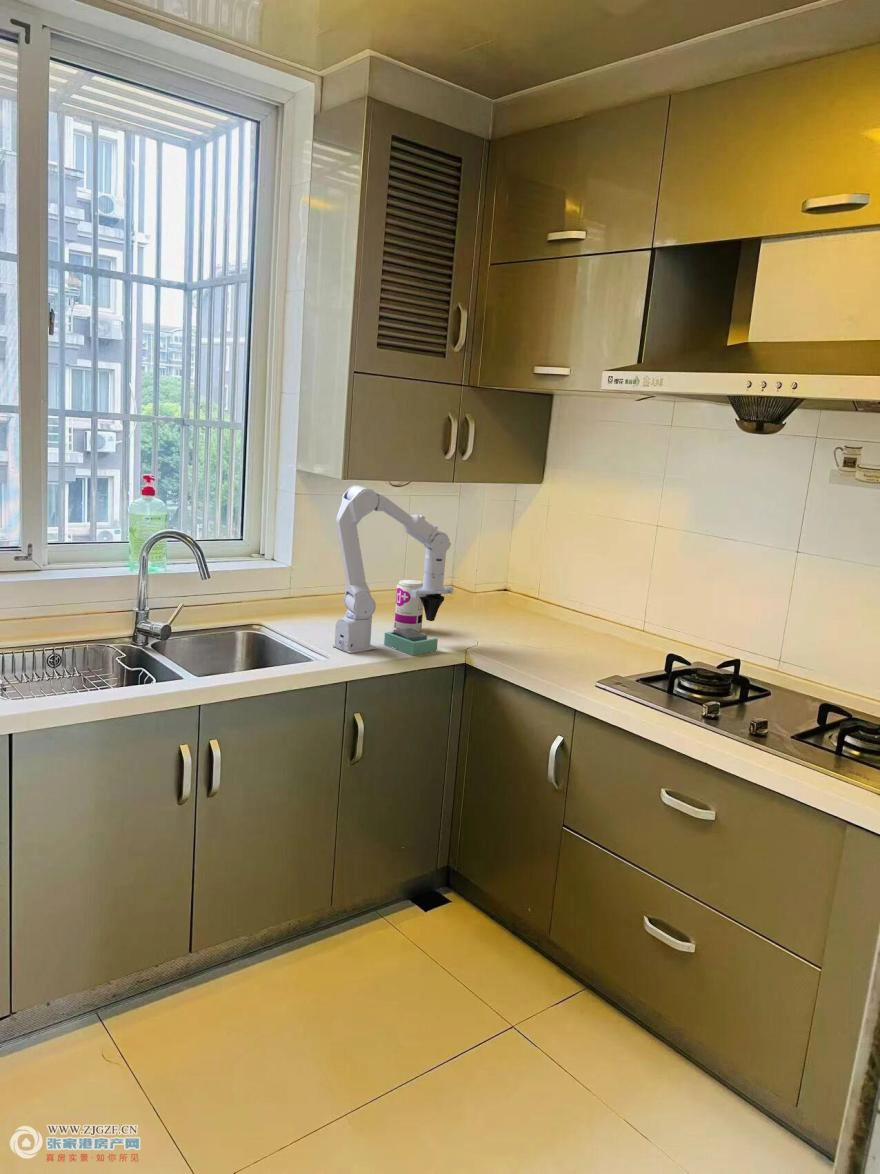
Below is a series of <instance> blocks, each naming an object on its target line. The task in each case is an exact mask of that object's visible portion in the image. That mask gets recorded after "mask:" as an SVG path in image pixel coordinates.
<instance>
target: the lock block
mask: <svg viewBox="0 0 880 1174" xmlns="http://www.w3.org/2000/svg"><path fill="white" fill-rule="evenodd" d="M393 634H394V635H397V636H399V637H402V638H405V639H408V640H410V641H413V642H416V641H421V640H427V639H428V635H427V634H425V633H423V632H421V631H417V630H414V629H412V628H408V629H398V630H396V629H393Z"/></svg>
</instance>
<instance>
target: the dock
mask: <svg viewBox="0 0 880 1174" xmlns="http://www.w3.org/2000/svg"><path fill="white" fill-rule="evenodd" d="M438 640H439V639H438V638H436V637H435V638H427V640H421V641H416V642H413V641H410V640H408V639H405V638H402V637H399V636H397V635H394V634H393V631H387V632H384V641H383V643H384V644H385V645H384V644H383V645H384V646H386V645H388V646H387V647H389V646H390V647H389V648H391V647H393V648H392V649H394V648H395V649H394V650H397V649H398V650H397V651H399V650H401V651H400V652H402V651H403V653H405V652H406V653H405V654H407V653H408V655H410V654H411V655H410V656H412V655H414V656H418V655H417V654H419V655H422V654H421V653H424V654H427V653H426V652H429V653H432V652H431V651H434V652H437V651H438ZM436 650H437V651H436Z"/></svg>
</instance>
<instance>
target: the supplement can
mask: <svg viewBox="0 0 880 1174" xmlns="http://www.w3.org/2000/svg"><path fill="white" fill-rule="evenodd" d="M421 587H423V580H419V579H415V578H414V579H413V578H409V579H408V578H406V579H405V578H404V579H399V582H398V583H397V585H396V598H395V609H394V611H395V612H394V626H393V627H394V630H398V629H408V628H412V629H414V630H417V631H419V632H421V631H422V629H423V615H424V606H423V603H422V601H421V599H420V597H418V598H414V597H411V590H415V589H418V588H421Z"/></svg>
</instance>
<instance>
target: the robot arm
mask: <svg viewBox="0 0 880 1174" xmlns="http://www.w3.org/2000/svg"><path fill="white" fill-rule="evenodd" d="M373 511H375V512H383V513H385V514H386V515H388V516H389V517H391V518H392V519H394V520H396V521H397V522H398V523H400V524H402V525H403V529H404V532H405V533H406V534H408V535H409V536H410V537H412V538H414V539H415V540H416V541H418V542H419V543H420V544H423V546H424V547H425V554H424V566H423V579H422V582H423V587H421V588H418V589H415V590H411V597H414V598H418V597H420V599H421V601H422V603H423V611H424V614H425V620H426V621H429V622H433V621H435V620H436V617H437V613H438V611H439V609H440V606H441V605H442V604H443V602H444V601H445V596H443V595H446V594H450V595H453V594H454V586H450V585H444V580H445V570H446V569H445V568H446V556H447V551H449V549H450V548H451V543H452V542H451V541H450V538H449V536H448V535H447V533H446V532H443V531H441V530H438V529H439V528H438V526H437V525H436V524H434V525H433V524H431V523H430V522H428V521H427V520H426V517H425V516H424V515H421V514H416V513H415V514H412V515H410V514H409V513H408V512H406V511H405V510H404V509H402V507H400V506H398V504H396V503H394V501H392V500H390V499H389V498H388V497H386V496H384V495H383V494H381V493H378V492H375V490H374V489H371V488H369V487H367V488H366V487H364V486H362V485H360V484H354V485H351V486H350V487H349V488H348V489H346V491H345V492H343V495H342V497H341V503H340V506H339V510H338V512H337V515H336V518H335V523H336V527H337V534H338V538H339V545H340V551H341V556H342V557H341V559H342V563H343V568H344V574H345V580H346V582H345V586H344V590H345V592H344V597H343V604H344V606H345V608H346V611H345V615H344V617H342V618H339V619H338V620H337V621H336V624H335V628H334V629H335V633H334V635H335V636H334V644H333V645H332V647H334V648H337V649H338V650H341V651H344V652H345V653H348V654H354V653H359V652H365V651H371V650H376V649H377V648H378V647H377V646H375V645H373V644H371V638H372V637H371V636H372V623H373V621H372V620H373V614H374V613H375V611H376V609H377V608H376V607H377V605H376V601H375V599H374V598H373V597H372V595H371V590H370V588H369V585H368V584H367V581H366V575H365V574H366V573H365V568H364V563H363V557H362V553H361V552H362V550H361V544H360V540H359V539H360V538H359V533H358V527H357V526H358V524H359V523H360V522H361V520H362V519H363V518H365V516H367V515H368V514H370V513H372V512H373Z"/></svg>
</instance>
